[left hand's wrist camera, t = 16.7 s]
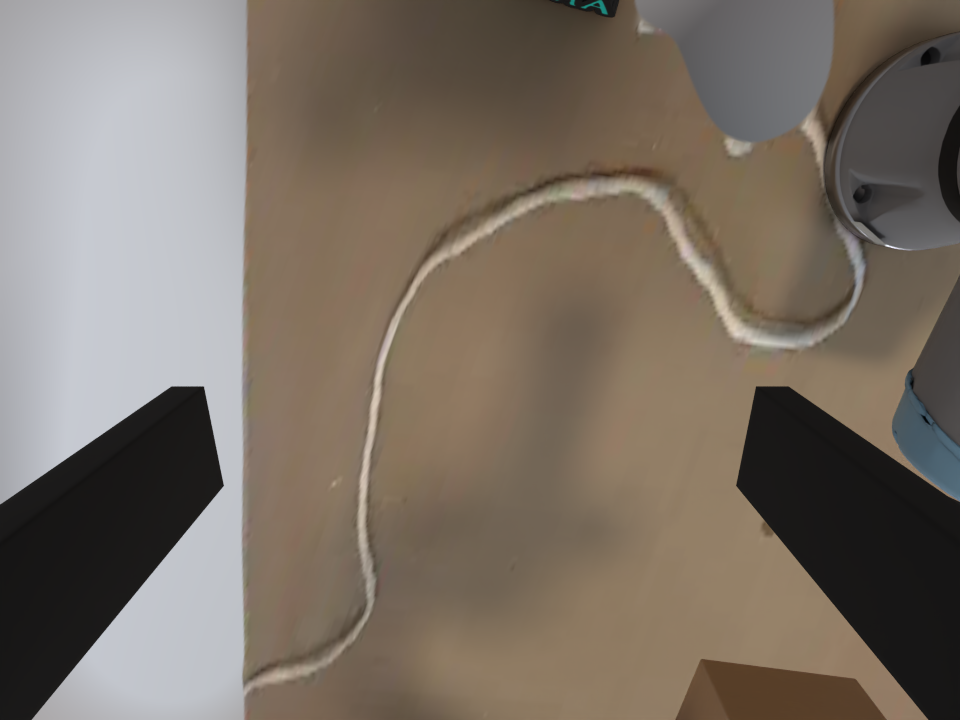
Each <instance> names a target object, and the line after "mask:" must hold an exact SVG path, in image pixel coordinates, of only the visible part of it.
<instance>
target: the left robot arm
mask: <svg viewBox="0 0 960 720" xmlns="http://www.w3.org/2000/svg"><path fill="white" fill-rule="evenodd" d="M825 183H826V190H827V194H828V198H829V201H830V203H831V206H832V208H833V210H834V212H835V214H836V216H837V217H838V218H839V220H840V221H841V223H842V224H843V225H844V226H845V227H846V228H847V229H848V230H849V231H851V232H852V233H853V234H854V235H856V236H857V237H859V238H861V239H863V240H865V241H867V242H870V243H872V244H876V245H880V246H884V247H890V248H896V249H903V250H925V249H931V248H938V247H943V246H948V245H953V244H957V243H960V32H955V33H951V34H947V35H944V36H940V37H937V38H934V39H930V40H927V41H924V42H921V43H918V44H916V45H913V46H911V47H909V48H907V49H905V50H903V51H901V52H899V53H897V54H896V55H894V56H893V57H891V58H890V59H888V60H887V61H885V62H884V63H883V64H881V65H880V66H879V67H878V68H877V69H876V70H874V71H873V72H872V73H871V74H870V75H869V76H868V77H867V78H866V79H865V80H864V81H863V82H862V83H861V85H860V86H859V87H858V88H857V89H856V90H855V92H854V93H853V95H852V96H851V97H850V99H849V100H848V102H847V103H846V105H845V106H844V108H843V110H842V112H841V114H840V115H839V117H838V119H837V121H836V124H835V126H834V129H833V131H832V134H831V137H830V140H829V144H828V149H827V153H826V161H825ZM892 432H893V435H894V438H895V440H896V442H897V444H898V445H899V448H900V451H901V452H902V453H903V455H904V456H905V457H906V458H907V460H908V461H909V462H910V463H911V464H912V465H913V466H914V467H915V468H916V469H917V470H918V471H919V472H920V473H922V474H923V475H924V476H925V477H926V478H928V479H929V480H930V481H931V482H933V483H934V484H935V485H937V486H938V487H939V488H941V489H942V490H944V491H945V492H946V493H948V494H949V495H951V496H952V497H954V498H955V499H957V500H959V501H960V276H959V278H958V280H957V282H956V284H955V286H954V288H953V290H952V292H951V294H950V296H949V298H948V300H947V302H946V304H945V306H944V308H943V310H942V312H941V314H940V316H939V318H938V320H937V322H936V324H935V326H934V328H933V330H932V332H931V334H930V336H929V338H928V340H927V342H926V344H925V346H924V348H923V350H922V352H921V354H920V356H919V358H918V360H917V362H916V364H915V366H914V368H913V369H911V370H910V371H909V372H908V374H907V376H906V378H905V391H904V393H903V396H902V398H901V400H900V403H899V405H898V408H897V410H896V412H895V415H894V417H893V421H892ZM223 486H224V485H223V480H222V475H221V470H220V465H219V460H218V455H217V450H216V445H215V440H214V435H213V430H212V425H211V420H210V415H209V410H208V405H207V400H206V395H205V390H204V387H170V388H169V389H167V390H166V391H164V392H163V393H162V394H160V395H159V396H157V397H156V398H154V399H153V400H151V401H150V402H149V403H147V404H146V405H144V406H143V407H141V408H140V409H138V410H137V411H135V412H134V413H133V414H131V415H130V416H128V417H127V418H125V419H124V420H122V421H121V422H119V423H118V424H117V425H115V426H114V427H112V428H111V429H109V430H108V431H106V432H105V433H104V434H102V435H101V436H99V437H98V438H96V439H95V440H93V441H92V442H91V443H89V444H88V445H86V446H85V447H83V448H82V449H80V450H79V451H77V452H76V453H75V454H73V455H72V456H70V457H69V458H67V459H66V460H64V461H63V462H61V463H60V464H59V465H57V466H56V467H54V468H53V469H51V470H50V471H48V472H47V473H46V474H44V475H43V476H41V477H40V478H38V479H37V480H35V481H34V482H32V483H31V484H30V485H28V486H27V487H25V488H24V489H22V490H21V491H19V492H18V493H17V494H15V495H14V496H12V497H11V498H9V499H8V500H6V501H5V502H3V503H2V504H0V720H32V719H33V717H34V716H35V715H36V714H37V712H38V711H39V710H40V709H41V708H42V706H43V705H44V704H45V703H46V701H47V700H48V699H49V698H50V697H51V695H52V694H53V693H54V692H55V691H56V689H57V688H58V687H59V686H60V684H61V683H62V682H63V681H64V680H65V678H66V677H67V676H68V675H69V674H70V672H71V671H72V670H73V669H74V667H75V666H76V665H77V664H78V663H79V661H80V660H81V659H82V658H83V656H84V655H85V654H86V653H87V652H88V650H89V649H90V648H91V647H92V646H93V644H94V643H95V642H96V641H97V639H98V638H99V637H100V636H101V635H102V633H103V632H104V631H105V630H106V628H107V627H108V626H109V625H110V624H111V622H112V621H113V620H114V619H115V618H116V616H117V615H118V614H119V613H120V611H121V610H122V609H123V608H124V607H125V605H126V604H127V603H128V602H129V600H130V599H131V598H132V597H133V596H134V594H135V593H136V592H137V591H138V590H139V588H140V587H141V586H142V585H143V583H144V582H145V581H146V580H147V579H148V577H149V576H150V575H151V574H152V573H153V571H154V570H155V569H156V568H157V566H158V565H159V564H160V563H161V562H162V560H163V559H164V558H165V557H166V555H167V554H168V553H169V552H170V551H171V549H172V548H173V547H174V546H175V545H176V543H177V542H178V541H179V540H180V538H181V537H182V536H183V535H184V533H185V532H186V531H187V530H188V529H189V527H190V526H191V525H192V524H193V523H194V521H195V520H196V519H197V518H198V516H199V515H200V514H201V513H202V512H203V510H204V509H205V508H206V507H207V506H208V504H209V503H210V502H211V501H212V499H213V498H214V497H215V496H216V495H217V493H218V492H219V491H220V490H221V489H222V487H223ZM736 486H737V487H738V489H739V490H740V491H741V492H742V493H743V495H744V496H745V497H746V498H747V499H748V501H749V502H750V503H751V504H752V506H753V507H754V508H755V509H756V510H757V512H758V513H759V514H760V515H761V517H762V518H763V519H764V520H765V521H766V523H767V524H768V525H769V526H770V527H771V529H772V530H773V531H774V532H775V534H776V535H777V536H778V537H779V538H780V540H781V541H782V542H783V543H784V545H785V546H786V547H787V548H788V549H789V551H790V552H791V553H792V554H793V555H794V557H795V558H796V559H797V560H798V562H799V563H800V564H801V565H802V566H803V568H804V569H805V570H806V571H807V573H808V574H809V575H810V576H811V577H812V579H813V580H814V581H815V582H816V583H817V585H818V586H819V587H820V588H821V590H822V591H823V592H824V593H825V594H826V596H827V597H828V598H829V599H830V600H831V602H832V603H833V604H834V605H835V607H836V608H837V609H838V610H839V611H840V613H841V614H842V615H843V616H844V618H845V619H846V620H847V621H848V622H849V624H850V625H851V626H852V627H853V628H854V630H855V631H856V632H857V633H858V635H859V636H860V637H861V638H862V639H863V641H864V642H865V643H866V644H867V646H868V647H869V648H870V649H871V650H872V652H873V653H874V654H875V655H876V656H877V658H878V659H879V660H880V661H881V663H882V664H883V665H884V666H885V667H886V669H887V670H888V671H889V672H890V674H891V675H892V676H893V677H894V678H895V680H896V681H897V682H898V683H899V684H900V686H901V687H902V688H903V689H904V691H905V692H906V693H907V694H908V695H909V697H910V698H911V699H912V700H913V702H914V703H915V704H916V705H917V706H918V708H919V709H920V710H921V711H922V712H923V714H924V715H925V716H926V717H927V719H928V720H960V502H958V501H956V500H954V499H952V498H950V497H948V496H946V495H945V494H943V493H942V492H941V491H939V490H938V489H936V488H935V487H933V486H932V485H930V484H929V483H928V482H926V481H925V480H923V479H922V478H920V477H919V476H917V475H916V474H914V473H913V472H912V471H910V470H909V469H907V468H906V467H904V466H903V465H901V464H900V463H899V462H897V461H896V460H894V459H893V458H891V457H890V456H888V455H887V454H885V453H884V452H883V451H881V450H880V449H878V448H877V447H875V446H874V445H872V444H871V443H870V442H868V441H867V440H865V439H864V438H862V437H861V436H859V435H858V434H856V433H855V432H854V431H852V430H851V429H849V428H848V427H846V426H845V425H843V424H842V423H841V422H839V421H838V420H836V419H835V418H833V417H832V416H830V415H829V414H827V413H826V412H825V411H823V410H822V409H820V408H819V407H817V406H816V405H814V404H813V403H812V402H810V401H809V400H807V399H806V398H804V397H803V396H801V395H800V394H798V393H797V392H796V391H794V390H793V389H791V388H790V387H756V390H755V395H754V400H753V405H752V410H751V415H750V420H749V425H748V430H747V435H746V440H745V445H744V450H743V455H742V460H741V465H740V470H739V475H738V480H737V485H736Z"/></svg>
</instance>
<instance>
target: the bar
mask: <svg viewBox="0 0 960 720" xmlns="http://www.w3.org/2000/svg"><path fill="white" fill-rule="evenodd" d="M676 720H886V718H885V717H884V716H883V714H882V713H881V712H880V710H879V709H878V708H877V706H876V705H875V704H874V702H873V701H872V700H871V698H870V697H869V696H868V695H867V693H866V692H865V691H864V689H863V688H862V687H861V685H860V684H859V683H858V681H857V680H856V679H852V678H845V677H837V676H829V675H821V674H814V673H806V672H798V671H790V670H783V669H775V668H767V667H759V666H752V665H744V664H736V663H728V662H721V661H713V660H705V659H701V660H700V662H699V665H698V667H697V670H696V672H695V674H694V677H693V679H692V682H691V684H690V686H689V689H688V691H687V694H686V696H685V698H684V701H683V703H682V705H681V708H680V710H679V713H678V715H677V717H676Z"/></svg>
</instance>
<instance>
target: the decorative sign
mask: <svg viewBox="0 0 960 720" xmlns="http://www.w3.org/2000/svg"><path fill="white" fill-rule="evenodd" d="M550 1H552V2H556V3H564V4H565V5H567V6H569V7H572V8H577V9H580V10H584V11H592V10H593V9H595V12H596V13H597V14H599V15H602V16H606V17H614V16H615V13H616V10H617V6H618V2H619V0H550Z"/></svg>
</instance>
